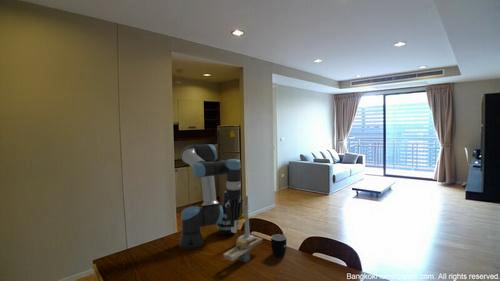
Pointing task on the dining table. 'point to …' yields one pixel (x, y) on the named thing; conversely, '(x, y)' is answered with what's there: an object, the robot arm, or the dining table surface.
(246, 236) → the candlestick
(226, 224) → the vase
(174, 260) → the dining table surface
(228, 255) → the beam
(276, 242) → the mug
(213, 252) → the dining table surface
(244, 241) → the rider
